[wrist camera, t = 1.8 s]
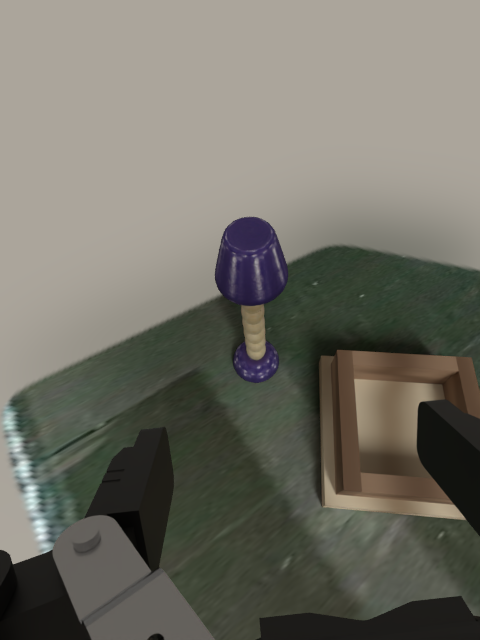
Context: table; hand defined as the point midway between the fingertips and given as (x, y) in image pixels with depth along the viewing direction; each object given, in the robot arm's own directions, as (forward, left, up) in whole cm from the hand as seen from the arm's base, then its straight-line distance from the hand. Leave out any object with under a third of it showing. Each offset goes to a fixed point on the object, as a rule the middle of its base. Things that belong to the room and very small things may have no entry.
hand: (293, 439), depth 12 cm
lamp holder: (-10, -6, -20) cm, 23 cm away
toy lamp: (+2, -12, -20) cm, 23 cm away
